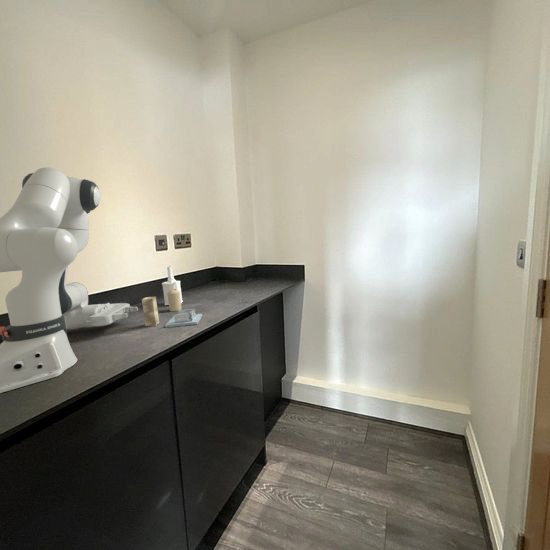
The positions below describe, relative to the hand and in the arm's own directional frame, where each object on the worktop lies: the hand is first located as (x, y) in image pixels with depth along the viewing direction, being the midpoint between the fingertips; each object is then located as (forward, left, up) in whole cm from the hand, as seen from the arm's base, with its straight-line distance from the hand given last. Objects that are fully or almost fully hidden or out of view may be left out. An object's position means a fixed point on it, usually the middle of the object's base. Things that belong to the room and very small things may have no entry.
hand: (132, 312), depth 116 cm
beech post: (+5, -5, -6) cm, 9 cm away
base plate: (+14, -14, -6) cm, 21 cm away
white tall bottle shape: (+30, +21, -6) cm, 37 cm away
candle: (+23, +8, -6) cm, 25 cm away
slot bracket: (+14, -14, -5) cm, 21 cm away
